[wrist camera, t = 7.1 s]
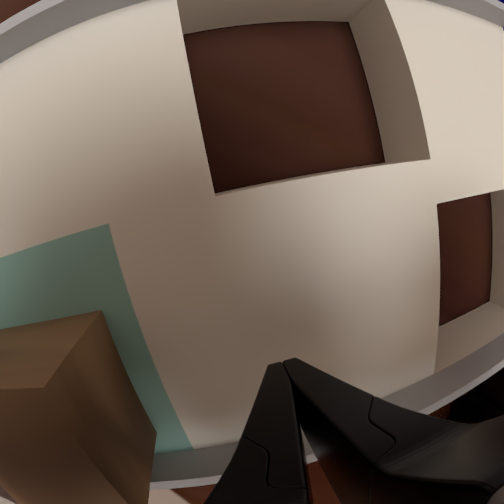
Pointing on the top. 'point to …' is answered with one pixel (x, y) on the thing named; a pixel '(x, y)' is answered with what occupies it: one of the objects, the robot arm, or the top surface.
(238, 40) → the top surface
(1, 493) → the award
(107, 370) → the walnut block
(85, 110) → the trap deck
